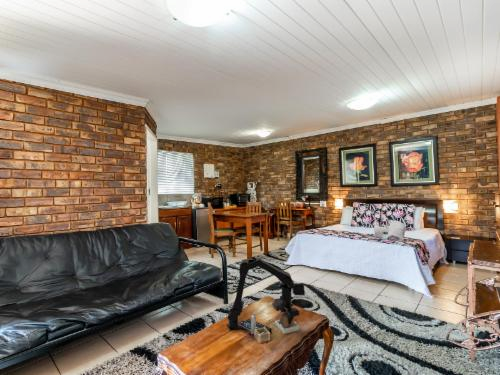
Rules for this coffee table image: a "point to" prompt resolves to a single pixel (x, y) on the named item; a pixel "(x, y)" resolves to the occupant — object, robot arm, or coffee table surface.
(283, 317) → the walnut block
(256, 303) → the coffee table surface
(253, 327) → the cylinder
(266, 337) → the beige square frame
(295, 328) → the tray
